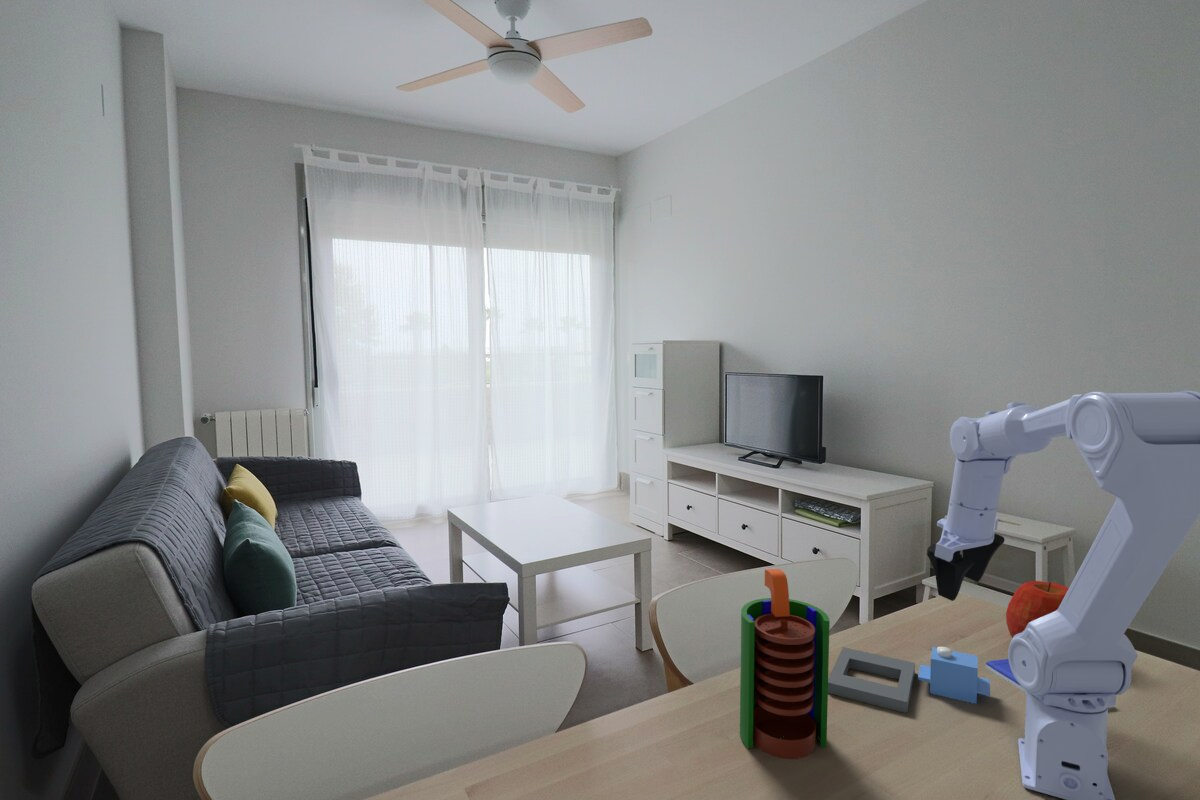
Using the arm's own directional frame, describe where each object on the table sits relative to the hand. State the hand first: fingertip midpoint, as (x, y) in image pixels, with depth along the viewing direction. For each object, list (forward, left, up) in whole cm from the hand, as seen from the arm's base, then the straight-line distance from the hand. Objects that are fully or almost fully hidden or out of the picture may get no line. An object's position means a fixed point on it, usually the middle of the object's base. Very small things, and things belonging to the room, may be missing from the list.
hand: (959, 587), depth 90 cm
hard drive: (+3, -11, -14) cm, 18 cm away
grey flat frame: (-8, +10, -13) cm, 19 cm away
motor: (-27, +18, -13) cm, 36 cm away
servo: (-5, 0, -13) cm, 14 cm away
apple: (+17, -12, -13) cm, 24 cm away
